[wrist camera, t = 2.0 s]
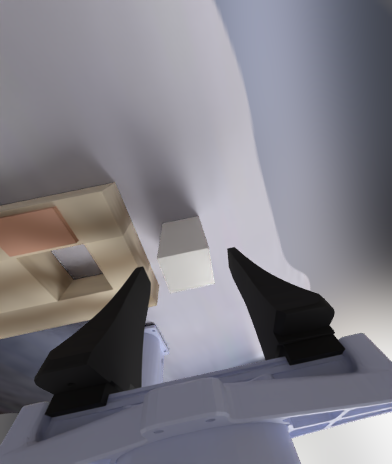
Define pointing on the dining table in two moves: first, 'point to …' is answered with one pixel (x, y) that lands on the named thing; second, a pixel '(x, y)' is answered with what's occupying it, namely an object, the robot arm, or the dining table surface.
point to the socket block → (48, 267)
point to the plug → (184, 255)
